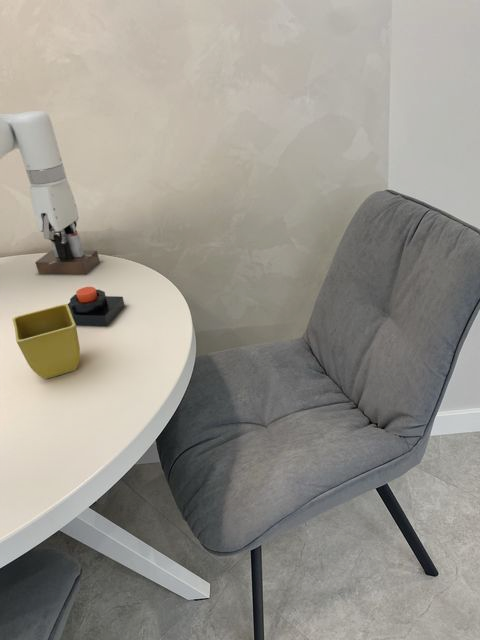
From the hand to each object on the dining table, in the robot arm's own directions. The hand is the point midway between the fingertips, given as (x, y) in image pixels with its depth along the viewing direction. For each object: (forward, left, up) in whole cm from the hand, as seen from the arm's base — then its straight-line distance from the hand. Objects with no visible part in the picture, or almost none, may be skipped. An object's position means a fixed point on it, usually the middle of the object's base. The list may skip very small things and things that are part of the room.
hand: (70, 255), depth 125 cm
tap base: (-1, 0, -3) cm, 3 cm away
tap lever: (0, 0, 0) cm, 0 cm away
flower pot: (+19, -40, -3) cm, 44 cm away
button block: (+16, -22, -3) cm, 27 cm away
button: (+16, -22, 0) cm, 27 cm away
